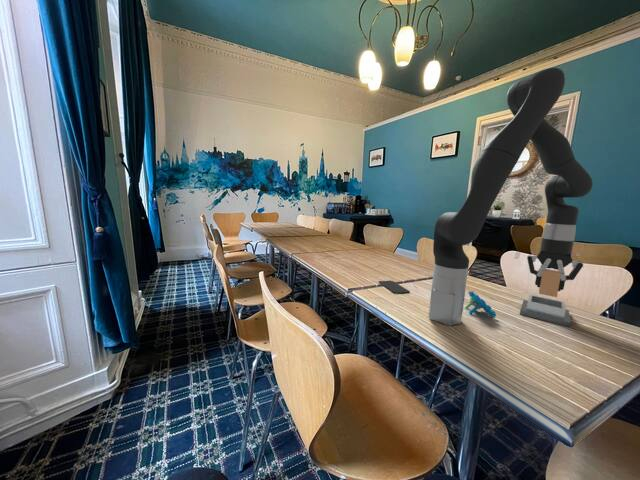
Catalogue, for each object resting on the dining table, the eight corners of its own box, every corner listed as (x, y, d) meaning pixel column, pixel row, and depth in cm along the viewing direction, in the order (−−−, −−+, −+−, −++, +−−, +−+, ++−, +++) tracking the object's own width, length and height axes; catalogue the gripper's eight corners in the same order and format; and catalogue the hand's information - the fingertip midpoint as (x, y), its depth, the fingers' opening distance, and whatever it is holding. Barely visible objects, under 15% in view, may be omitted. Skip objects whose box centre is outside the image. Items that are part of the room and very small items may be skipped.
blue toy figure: (504, 318, 77) (480, 293, 78) (488, 330, 78) (465, 305, 79) (486, 308, 88) (465, 286, 89) (472, 319, 88) (452, 297, 89)
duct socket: (569, 327, 76) (572, 313, 75) (519, 314, 84) (521, 301, 84) (567, 314, 86) (570, 301, 85) (523, 303, 94) (525, 292, 93)
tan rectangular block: (556, 297, 81) (561, 273, 80) (538, 293, 84) (542, 270, 82) (555, 293, 84) (560, 270, 83) (538, 290, 87) (542, 268, 86)
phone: (392, 280, 115) (411, 291, 100) (392, 282, 115) (411, 293, 100) (377, 281, 113) (394, 292, 99) (377, 282, 113) (394, 294, 99)
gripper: (528, 236, 83) (520, 286, 85) (591, 242, 74) (580, 297, 76) (529, 234, 88) (521, 281, 91) (587, 239, 79) (577, 291, 82)
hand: (548, 288), depth 84 cm, fingers closed on tan rectangular block, 4 cm apart
